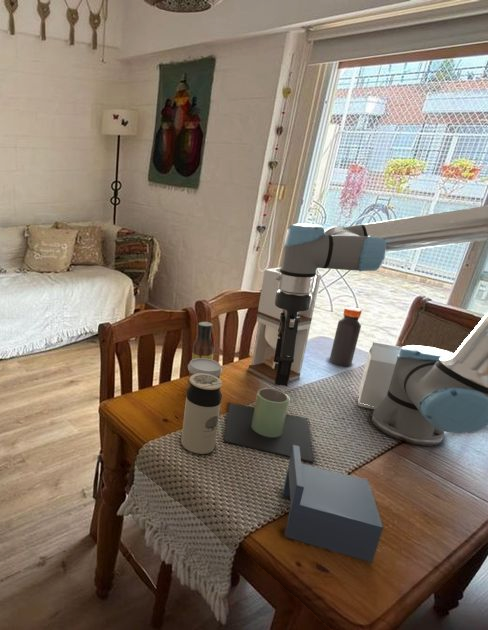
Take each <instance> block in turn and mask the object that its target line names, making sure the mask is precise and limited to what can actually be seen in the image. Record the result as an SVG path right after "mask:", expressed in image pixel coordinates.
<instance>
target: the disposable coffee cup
mask: <svg viewBox="0 0 488 630" xmlns="http://www.w3.org/2000/svg"><path fill="white" fill-rule="evenodd" d="M187 369H188V383H189V384H188V385H189V386H190V385H191V383H190V380H189V378H190V377H191V376H192V375H194V374H199V373H203V374H210V375H213V376H216V377H218V378H219V379H220V376H221V375H222V373H223V368H222V365H221V364H220V363H219V362H218V361H216V360H214V359H213V360H211V359H206V358H196V359H192V358H191V360H190V361H189V363H188V364H187ZM189 386H188V387H189Z"/></svg>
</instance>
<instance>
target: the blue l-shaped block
mask: <svg viewBox="0 0 488 630" xmlns="http://www.w3.org/2000/svg"><path fill="white" fill-rule="evenodd" d="M285 475H286V476H285V478H284V483H283V489H282V496H283V497H287V498H290V507H289V512H288V517H287V521H286V525H285V530H284V538H287V539H291V540H294V541H298V542H300V543H305V544H307V545H310V546H315V547H318V548H320V549H323V550H327V551H331V552H334V553H337V554H340V555H344V556H348V557H351V558H354V559H358V560H361V561H364V562H367V563H371V564H372V563H373V561H374V558H375V555H376V552H377V549H378V545H379V543H380V539H381V536H382V533H383V530H384V525H383V522H382V518H381V515H380V512H379V510H378V507H377V503H376V500H375V497H374V495H373V490H372V488H371V485H370V482H369V479H367V478H362V477H358V476H354V475H351V474H346V473H342V472H337V471H333V470H329V469H324V468H321V467H316V466H313V465H312V466H311V465H308V464H304V463H302V460H301V456H300V448H299V446H296V445H293V447H292V451H291V456H290V457H289V461H288V465H287V470H286V474H285Z"/></svg>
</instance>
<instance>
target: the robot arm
mask: <svg viewBox="0 0 488 630" xmlns="http://www.w3.org/2000/svg"><path fill="white" fill-rule="evenodd" d="M482 241H488V205H484V206H483V205H482V206H476V207H470V208H469V207H468V208H463V209H457V210H450V211H442V212H436V213H430V214H424V215H423V214H422V215H417V216H409V217H403V218H396V219H390V220H381V221H376V222H369V223H363V224H356V225H350V226H343V225H333V226H330V227H328V228H326V229H325V227H324V226H323V225H321V224H311V223H293V224H291V225H289V226H288V228H287V229H286V234H285V237H284V242H283V248H282V255H281V261H280V267H281V268H280V267H279V268H280V276H276V280H279V281H278V289H279V290H278V291H277V292H276V298H275V305H276V306H277V307H278V308H280V309H283V312H281V314H280V325H279V329H278V337H280V338H277V344H276V350H275V356H274V362H278V367H277V373H276V379H275V384H274V385H275V386H282V387H289V382H290V381H289V375H290V370H291V364H292V363H293V361H294V359H293V358H294V350H295V342H296V334H297V330H298V324H299V322H300V317H299V314H297V312H299V311H306V310H308V309H309V308H310V304H311V299H312V295H311V293H312V292H313V289H314V284H315V279H316V273H317V271H318V269H329V270H330V269H331V270H342V271H343V270H344V271H354V272H355V271H356V272H376V271H379V269H380V268H381V267H382V266H383V264H384V262H385V259H386V254H387V253H394V252H395V253H396V252H403V251H411V250H420V249H426V248H434V247H443V246H451V245H458V244H467V243H474V242H475V243H476V242H482ZM401 347H402V348H401V350H400V352H399V355H398V356H397V361H396V364H395V368H394V371H393V375H392V379H391V382H390V386H389V389H388V393H387V396H386V397H385V398H384V399H383V401H382V402H381V403H380V404H379V405H378V407H377V408H376V409H375V410H374V409H373V412H372V415H371V422H372V424H373V426H375V427H376V428H377V429H378V430H379V431H381V432H382V433H384V434H385V435H387V436H389V437H391V438H393V439H396V440H399V441H402V442H403V443H408V444H411V445H417V446H425V447H429V446H430V447H431V446H437V445H439V444H441V443H442V441H443V439H444V437H445V433H450V434H456V435H457V434H458V435H459V434H460V435H462V434H464V433H465V434H466V433H468V434H469V433H474V432H477V431H479V430H482V429H483V428H485V427H487V426H488V311H487V313H486V314H484V316H483V317H482V318H481V320H480V321H479V322H478V324H477V325H475V327H474V329H473V330H472V331H471V332H470V334H468V336H467V337H466V338H465V339H464V340H463V342H462V343H461V345H459V347H458V348H457V350H455V352H452V351H449V350H445V349H441V348H437V347H433V346H425V345H415V344H411V345H405V346H401ZM288 356H290V357H288ZM288 381H289V382H288Z"/></svg>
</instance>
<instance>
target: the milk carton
mask: <svg viewBox="0 0 488 630" xmlns="http://www.w3.org/2000/svg"><path fill="white" fill-rule="evenodd" d="M402 347H403V346H399V345H394V344H393V345H392V344H388V343H381V342H375V341H373V342H372V345H371V347H370V349H369V350H368V354H367V357H366V362H365V366H364V369H363V372H362V377H361V381H360V384H359V389H358V392H359V398H358V397H357V404H358V407H361V408H367V409H369V410H373V411H374V410H375V409H376V408H377V407H378V405H379V404H380V403H381V402H382V401H383V399H384V398H385V397H386V396H387V393H388V389H389V386H390V382H391V379H392V375H393V371H394V368H395V364H396V361H397V356H398V355H399V352H400V350H401V348H402ZM359 402H361V403H364V404H368V405H370V406H368V405H364V404H360V403H359ZM372 406H374V407H372Z"/></svg>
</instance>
